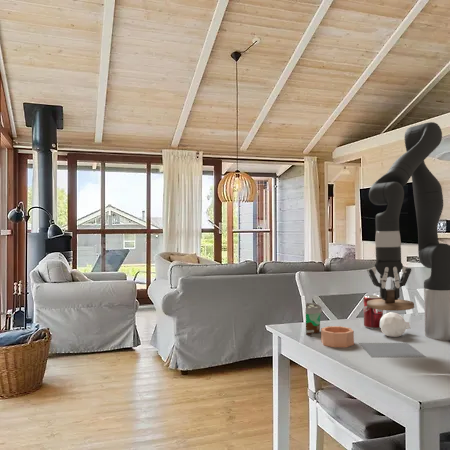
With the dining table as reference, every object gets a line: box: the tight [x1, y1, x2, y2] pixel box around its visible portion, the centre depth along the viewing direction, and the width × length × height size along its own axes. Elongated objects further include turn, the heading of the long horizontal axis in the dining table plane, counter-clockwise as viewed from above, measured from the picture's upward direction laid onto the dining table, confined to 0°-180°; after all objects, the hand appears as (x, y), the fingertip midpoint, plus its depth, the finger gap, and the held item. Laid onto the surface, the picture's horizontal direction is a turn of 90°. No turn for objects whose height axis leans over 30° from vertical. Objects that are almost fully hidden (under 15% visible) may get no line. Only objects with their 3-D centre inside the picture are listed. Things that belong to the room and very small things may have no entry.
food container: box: [305, 302, 323, 336], centre depth 165 cm, size 12×6×10 cm, turn 168°
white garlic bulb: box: [380, 311, 411, 338], centre depth 156 cm, size 9×9×12 cm
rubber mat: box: [358, 342, 427, 358], centre depth 138 cm, size 16×16×1 cm
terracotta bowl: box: [320, 325, 355, 348], centre depth 147 cm, size 10×10×5 cm
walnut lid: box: [367, 288, 415, 312], centre depth 138 cm, size 14×14×5 cm
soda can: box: [362, 294, 384, 330], centre depth 171 cm, size 7×7×12 cm
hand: (389, 299), depth 138 cm, fingers closed on walnut lid, 3 cm apart
